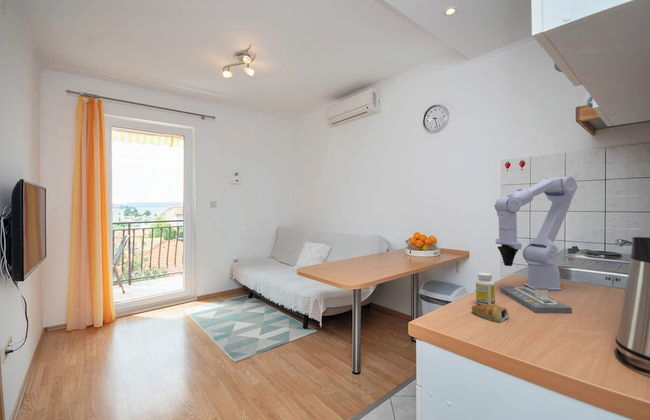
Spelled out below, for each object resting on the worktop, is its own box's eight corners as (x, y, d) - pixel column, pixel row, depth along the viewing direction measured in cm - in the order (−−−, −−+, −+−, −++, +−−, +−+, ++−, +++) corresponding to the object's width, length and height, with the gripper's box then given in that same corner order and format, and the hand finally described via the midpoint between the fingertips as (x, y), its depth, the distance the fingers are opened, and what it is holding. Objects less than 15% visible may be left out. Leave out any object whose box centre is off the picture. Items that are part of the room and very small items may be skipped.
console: (529, 291, 110) (529, 285, 110) (571, 313, 88) (571, 305, 88) (500, 291, 111) (500, 285, 111) (535, 312, 90) (535, 304, 89)
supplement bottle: (490, 301, 101) (489, 272, 101) (498, 306, 96) (497, 275, 95) (473, 300, 102) (473, 272, 101) (480, 306, 96) (479, 275, 96)
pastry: (466, 314, 90) (466, 302, 90) (478, 309, 94) (478, 297, 94) (500, 324, 82) (499, 310, 82) (511, 318, 86) (511, 305, 86)
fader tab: (544, 298, 96) (543, 286, 96) (550, 302, 93) (549, 289, 93) (533, 298, 96) (533, 286, 96) (539, 301, 93) (539, 289, 93)
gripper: (487, 227, 119) (488, 262, 120) (506, 231, 105) (507, 269, 105) (506, 227, 119) (506, 261, 119) (527, 230, 104) (528, 269, 105)
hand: (508, 265), depth 112 cm, fingers closed
